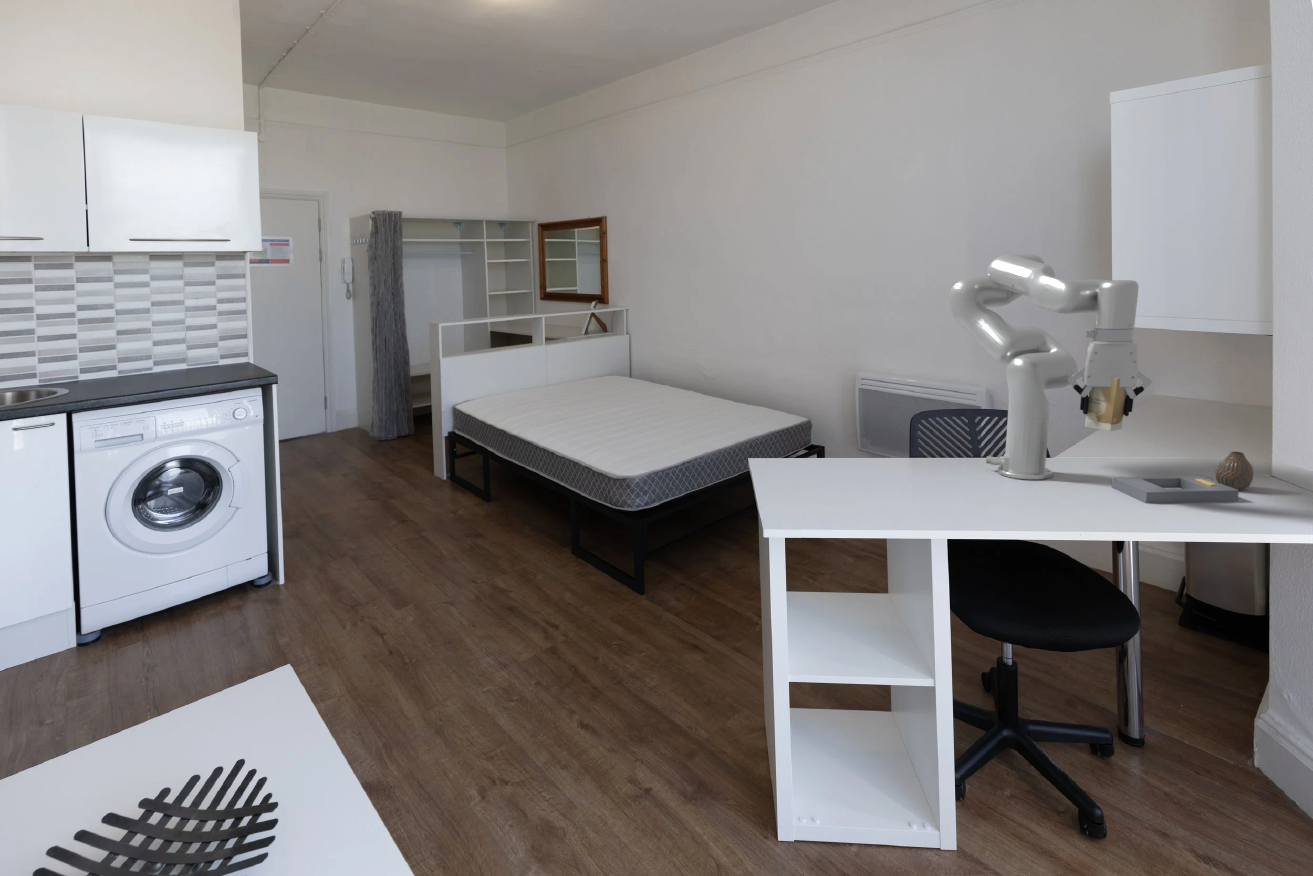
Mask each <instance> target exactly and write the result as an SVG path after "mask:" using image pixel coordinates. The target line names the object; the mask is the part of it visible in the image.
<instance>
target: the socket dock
mask: <svg viewBox="0 0 1313 876" xmlns="http://www.w3.org/2000/svg"><path fill="white" fill-rule="evenodd" d="M1111 488H1113V489H1114V490H1116V491H1119V492H1121V493H1123V494H1126V495H1128V496H1130V497H1132V498H1133V499H1136V500H1138V501H1141V502H1143V503H1144V504H1153V503H1154V504H1157V503H1158V504H1160V503H1161V504H1162V503H1163V504H1165V503H1166V504H1167V503H1205V502H1207V503H1208V502H1209V503H1210V502H1211V503H1213V502H1238V501H1239V493H1240V491H1239V490H1237V489H1234V488H1231V487H1228V486H1226V485H1223V484H1220V483H1218V482H1217V481H1214V480H1211V479H1209V478H1206V477H1203V476H1201V475H1160V476H1159V475H1158V476H1156V475H1154V476H1153V475H1152V476H1120V477H1119V476H1116V477H1112V480H1111Z"/></svg>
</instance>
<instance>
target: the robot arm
mask: <svg viewBox="0 0 1313 876" xmlns="http://www.w3.org/2000/svg"><path fill="white" fill-rule="evenodd" d="M986 274H987V276H971V277H966V278H962V279H960V280H957V282H955V283H954V284H953V285H952V287H951V288H950V291H949V296H948V300H949V301H948V302H949V304H948V305H949V308H950V312H951V313H952V314H951V315H952V316H953V318H954V319H955V320H956V322H957V323H958V324H959V325H960V327H962V328H963V329H964V330H966V332H968V334H970V335H971V336H972V337H973V338H974V339H975V341H977V343H978V344H979V345H980V346H981V347H982V348H983V349H984V350H985V352H987V353H988V355H989V356H991V358H993V360H995V361H996V362H998V363H999V364H1005V365H1006V364H1007V367H1006V370H1005V371H1006V372H1005V373H1006V374H1005V376H1006V383H1007V390H1008V391H1007V393H1008V406H1007V407H1008V409H1007V422H1006V423H1007V425H1006V437H1005V438H1006V441H1005V453H1003V455H1000V456H999V457H996V456H995V457H994V456H989V455H987V456H986V458H985V459H986V460H985V464H990V465H991V466H997V472H998V474H1000V475H1001V476H1005V477H1008V478H1012V479H1019V480H1044V479H1048V478H1051V477H1052V475H1053V474H1052V473H1053V472H1052V470H1051V469H1049V468H1047V467H1046V463H1047V462H1046V461H1047V451H1048V437H1049V425H1050V413H1051V412H1050V411H1051V410H1050V403H1049V400H1048V399H1049V398H1048V397H1047V395H1046V392H1045V390H1056V389H1063V388H1066V387H1068V386H1071V387H1072V388H1073V390H1075V391H1076V392H1077V394H1079V396H1080V405H1079V410H1080V411H1082V414H1083V415H1086V414H1088V405H1089V392H1090V391H1091V389H1092V388H1093V387H1100V388H1108V387H1111V383H1112V379H1111V378H1120V385H1119V387H1120V388H1125V390H1126V392H1127V394H1126V400H1125V408H1124V415H1123V416H1125V417H1129V415H1130V414H1129V413H1132V412H1133V405H1134V399H1135V398H1136V397H1138V395H1140V394H1142V393H1143V392H1144V391H1145V390H1146V389H1147V388H1148V387H1149V386H1150V385H1151V384H1152V383H1153V381H1152V379H1150V378H1149V377H1148V376H1146V375H1145V374H1143V373H1142V372H1141V371H1139V369H1138V368H1139V367H1138V366H1139V365H1138V364H1139V352H1138V343H1137V342H1133V341H1134V333H1135V323H1136V317H1137V316H1136V314H1137V306H1138V297H1139V283H1138V282H1137V281H1136V280H1133V279H1132V280H1131V279H1118V280H1117V279H1115V280H1112V279H1111V280H1108V279H1107V280H1106V279H1072V280H1069V279H1068V280H1067V279H1061V278H1058V277H1056V273H1055V270H1054V268H1053V267H1052V266H1051V265H1049V264H1047V263H1045V261H1044V260H1043V258H1042V257H1040V256H1039V255H1036V254H1034V253H1033V254H1032V253H1011V254H1009V253H1008V254H1007V253H1006V254H1002V255H1000V256H997V257H995V258H994V259H993V260H992V261H991V262H990V263H989V265H988V266H987V271H986ZM1022 296H1026V297H1027V298H1028V299H1029V301H1031V303H1032V304H1033V305H1035V306H1036V307H1039V308H1042V309H1045V310H1048V311H1051V312H1054V313H1058V314H1063V315H1065V314H1067V315H1068V314H1071V315H1072V314H1088V313H1090V314H1091V313H1095V320H1094V328H1093V329H1092V330H1090V331H1086V335H1085V338H1089V339H1090V338H1091V340H1093V341H1090V342H1089V344H1088V347H1087V351H1086V354H1085V359H1084V365H1083V368H1082V369H1080V370H1079V368H1078V364H1077V361H1076V360H1075V358H1074V356H1073V355H1072V354H1071V353H1070V352H1069V351H1068V350H1067V349H1066V348H1065V347H1064V346H1062V345H1061V344H1060V343H1059V341H1057V340H1056V339H1055V338H1054V337H1053V336H1052V335H1051V334H1050V333H1048V332H1047V331H1046V330H1044V329H1042V328H1039V327H1036V326H1023V327H1017V326H1013V325H1011V324H1010V323H1008V322H1007V321H1006V320H1004V318H1003V317H1002V316H1001V315H1000V314H999V313H997V312H995V311H994V310H991V309H989V308H998V307H1004V306H1007V305H1009V304H1011V303H1012V302H1014V301H1016V300H1017V299H1018V298H1020V297H1022ZM1080 378H1082V382H1083V384H1084V386H1083V387H1082V386H1080V385H1079V384H1078V383H1077V380H1078V379H1080ZM1138 379H1139V380H1140V381H1141V383H1140V384H1139V385H1138V386H1136V385H1137V380H1138ZM1135 386H1136V387H1135ZM1134 387H1135V388H1134Z"/></svg>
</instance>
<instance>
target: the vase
mask: <svg viewBox="0 0 1313 876" xmlns="http://www.w3.org/2000/svg"><path fill="white" fill-rule="evenodd" d="M1254 474H1255V473H1254V468H1253V466H1252V464H1251V463H1250V461H1249V460H1248V459H1247V457H1246V455H1245V453H1244V452H1242V451H1241V452H1240V451H1231V452H1229V454H1228V455H1227V456H1226V457H1225V458H1223V459H1222V460H1221V461H1220V462H1219V463H1218V465H1217V466H1216V470H1215V480H1216V482H1217V483H1220V484H1223V485H1226V486H1228V487H1231V488H1234V489H1237V490H1239V492H1241V491H1244V490H1247V488H1249V486H1251V485H1252V483H1253V479H1254Z"/></svg>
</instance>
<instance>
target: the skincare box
mask: <svg viewBox="0 0 1313 876" xmlns="http://www.w3.org/2000/svg"><path fill="white" fill-rule="evenodd" d="M1111 379H1112V383H1111V387H1108V388H1100V387H1093V388H1092V389H1091V391H1090V392H1089V393H1088V397H1089V405H1088V414H1085V416H1086V417H1085V422H1084V427H1085V428H1090V429H1095V430H1096V429H1097V430H1101V431H1106V432H1107V431H1108V432H1114V431H1118V430H1119V431H1120V430H1122V427H1123V421H1124V416H1125V415H1124V408H1125V400H1126V395H1127V392H1126V390H1125V388H1120V387H1119V385H1120V378H1111Z"/></svg>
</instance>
